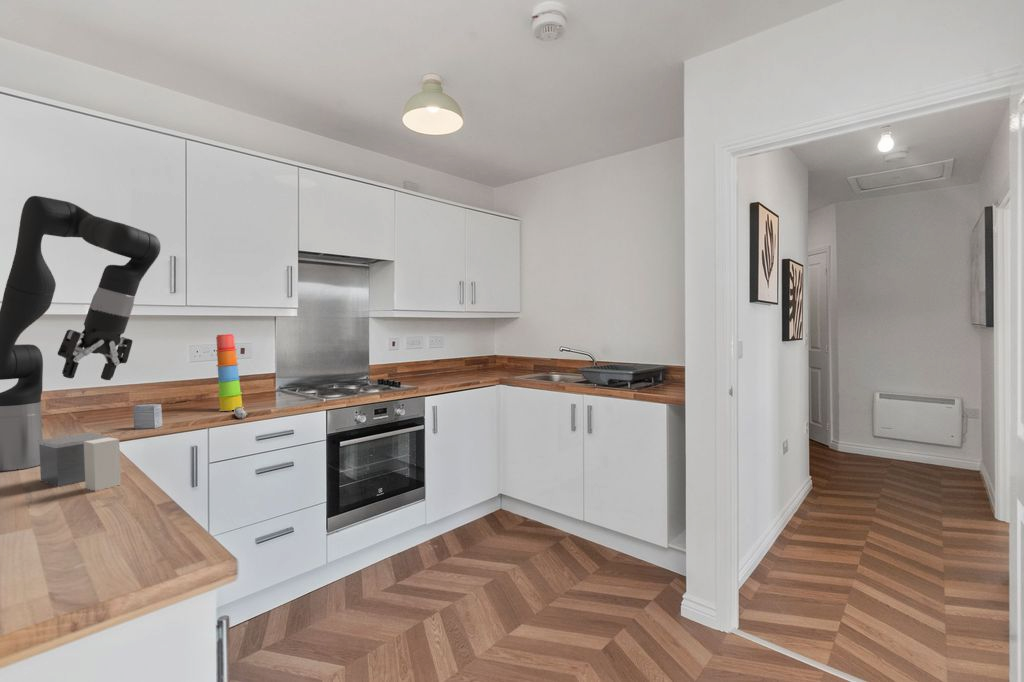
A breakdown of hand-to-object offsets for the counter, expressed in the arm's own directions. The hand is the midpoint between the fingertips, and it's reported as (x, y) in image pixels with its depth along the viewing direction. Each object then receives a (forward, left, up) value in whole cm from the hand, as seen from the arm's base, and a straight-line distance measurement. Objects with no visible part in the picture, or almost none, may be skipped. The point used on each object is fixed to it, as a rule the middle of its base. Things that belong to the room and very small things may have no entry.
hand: (87, 378), depth 116 cm
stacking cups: (-84, +84, -26) cm, 122 cm away
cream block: (0, +2, -26) cm, 26 cm away
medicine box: (-73, +45, -26) cm, 90 cm away
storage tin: (-15, +2, -26) cm, 30 cm away
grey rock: (-63, +75, -26) cm, 102 cm away
